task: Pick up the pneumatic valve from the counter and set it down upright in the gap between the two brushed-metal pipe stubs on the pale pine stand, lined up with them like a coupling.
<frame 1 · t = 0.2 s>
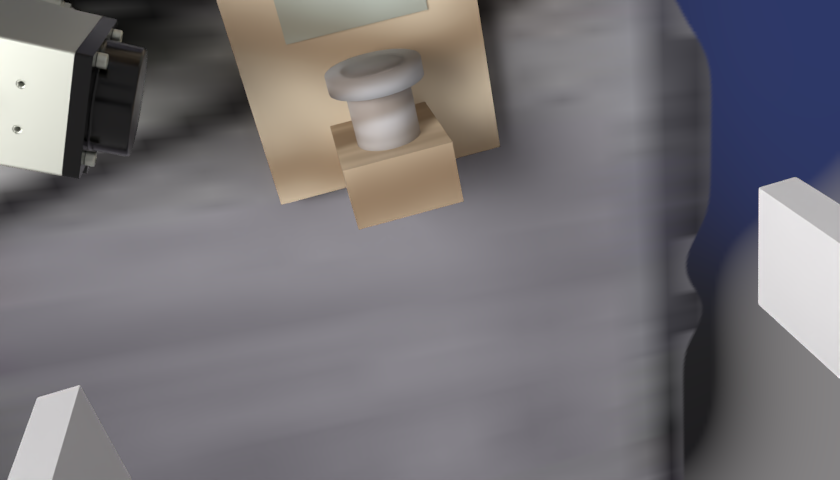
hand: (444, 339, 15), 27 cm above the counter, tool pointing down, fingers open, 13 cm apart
pneumatic valve: (25, 32, 36), on the counter
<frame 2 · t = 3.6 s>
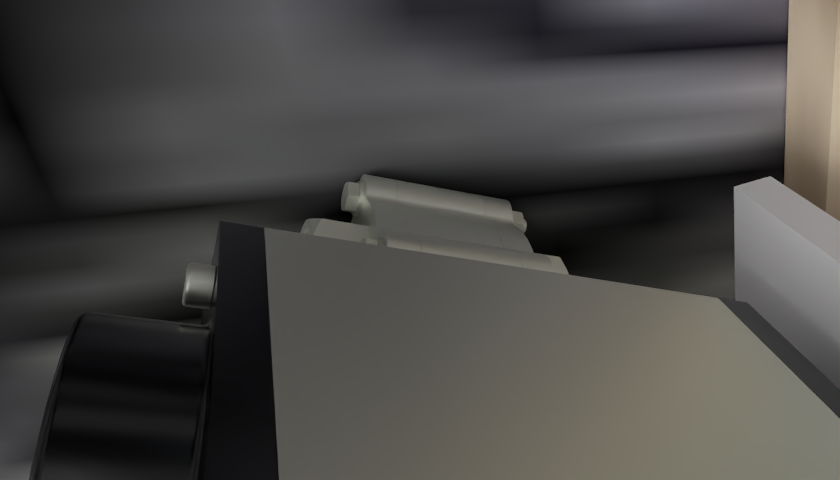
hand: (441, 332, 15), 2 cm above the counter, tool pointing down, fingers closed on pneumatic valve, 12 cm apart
pneumatic valve: (406, 263, 17), on the counter, touching gripper
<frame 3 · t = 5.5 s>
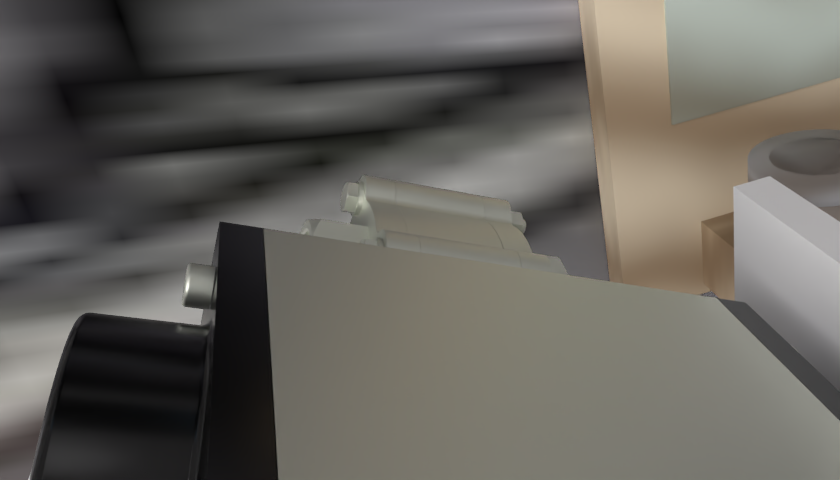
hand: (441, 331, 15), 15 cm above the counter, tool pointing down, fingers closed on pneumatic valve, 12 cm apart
pneumatic valve: (405, 264, 18), point 12 cm above the counter, touching gripper
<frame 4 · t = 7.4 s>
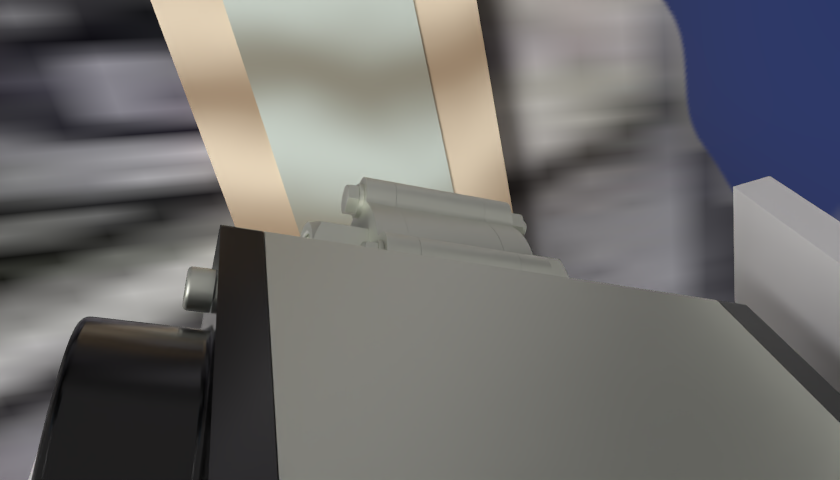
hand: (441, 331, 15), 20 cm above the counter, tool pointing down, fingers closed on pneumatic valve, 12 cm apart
pneumatic valve: (406, 266, 18), point 17 cm above the counter, touching gripper
pipe stand: (335, 64, 33), on the counter
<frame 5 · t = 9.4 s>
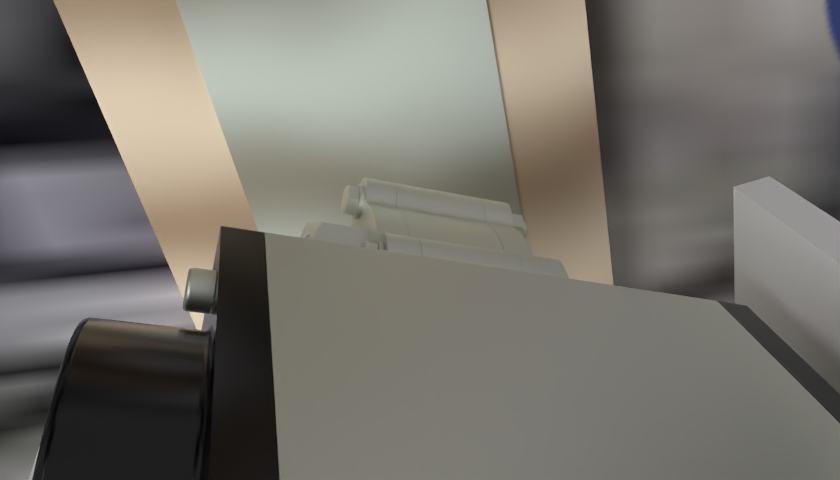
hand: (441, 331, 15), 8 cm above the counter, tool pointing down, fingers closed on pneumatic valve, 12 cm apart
pneumatic valve: (406, 266, 18), point 5 cm above the counter, touching gripper
pipe stand: (376, 169, 22), on the counter
when the fingers open (5 cm above the counter, at t = 11.1 s): pneumatic valve drops 1 cm, resting on pipe stand.
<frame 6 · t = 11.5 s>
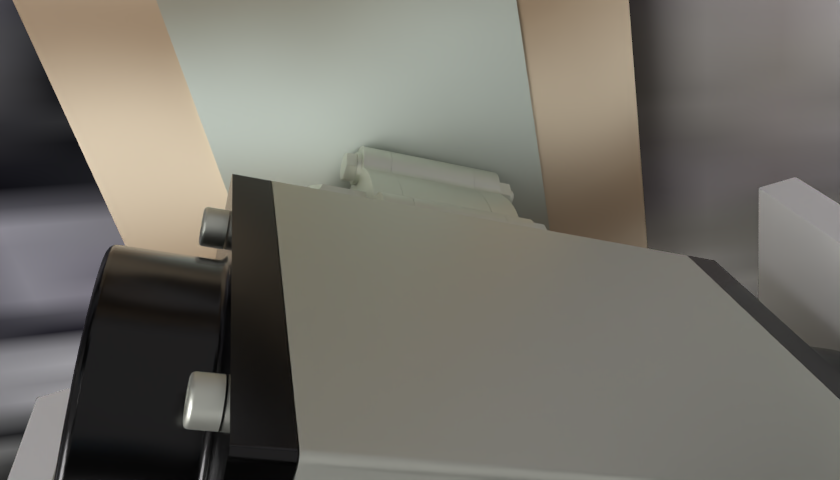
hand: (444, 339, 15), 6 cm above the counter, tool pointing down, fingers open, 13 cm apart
pneumatic valve: (400, 233, 19), point 1 cm above the counter, touching pipe stand
pipe stand: (393, 213, 20), on the counter
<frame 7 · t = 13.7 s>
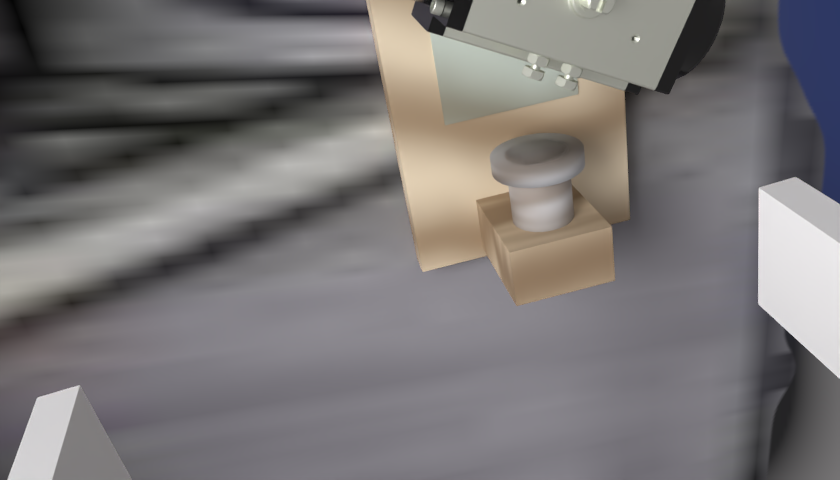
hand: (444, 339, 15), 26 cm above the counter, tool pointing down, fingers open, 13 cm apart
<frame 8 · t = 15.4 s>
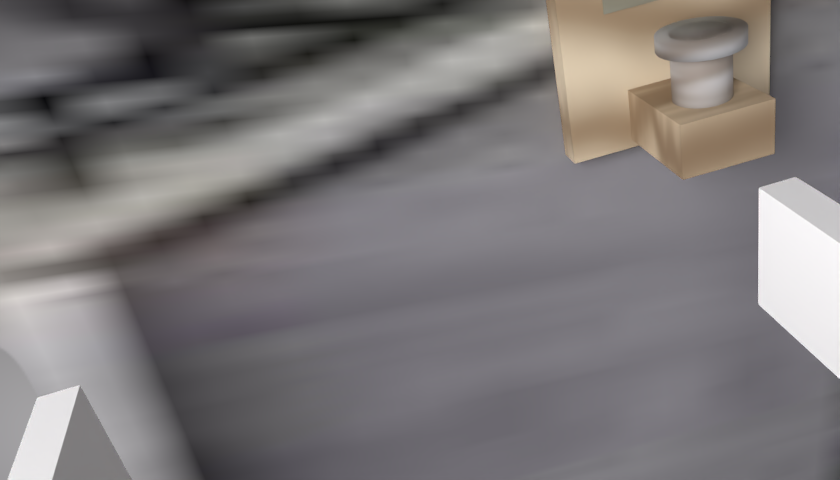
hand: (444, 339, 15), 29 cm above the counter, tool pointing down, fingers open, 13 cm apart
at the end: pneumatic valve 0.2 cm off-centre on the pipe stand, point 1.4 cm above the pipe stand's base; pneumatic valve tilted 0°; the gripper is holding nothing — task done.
